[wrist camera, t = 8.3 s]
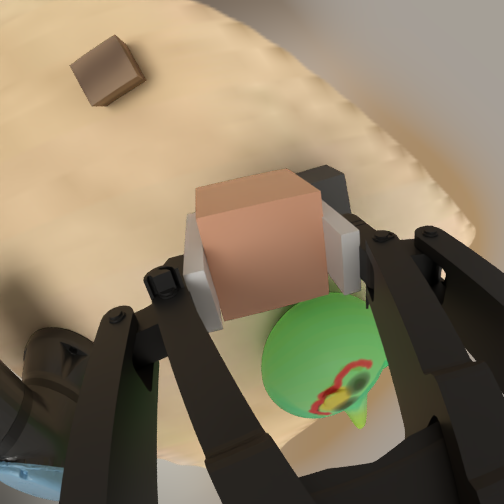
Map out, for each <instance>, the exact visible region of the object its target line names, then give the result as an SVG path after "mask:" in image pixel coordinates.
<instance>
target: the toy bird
mask: <svg viewBox="0 0 504 504" xmlns="http://www.w3.org/2000/svg"><path fill="white" fill-rule="evenodd" d="M387 366H389V365H388V362H387V358H386V355H385V352H384V348H383V345H382V342H381V338H380V335H379V332H378V329H377V326H376V323H375V320H374V316H373V313H372V310H371V307H370V305H369V308H368V309H366V302H365V301H363V300H361V299H359V298H357V297H355V296H352V295H349V294H348V295H345V296H344V294H343V293H329V294H328V295H324V296H321V297H317V298H314V299H310V300H306V301H303V302H299V303H298V304H296V305H295V306H293V307H292V308H291V309H290V310H288V311H287V312H286V313H285V314H284V315H283V316H282V317H281V318H280V320H279V321H278V322H277V323H276V325H275V326H274V328H273V329H272V331H271V333H270V335H269V337H268V339H267V341H266V344H265V347H264V351H263V355H262V364H261V371H262V379H263V383H264V386H265V389H266V391H267V393H268V395H269V396H270V398H271V399H272V400H273V401H274V402H275V403H276V404H277V405H278V406H279V407H280V408H281V409H283V410H285V411H286V412H288V413H290V414H293V415H295V416H299V417H303V418H324V417H328V416H331V415H335V414H337V413H340V412H342V411H345V412H346V413H347V414H348V416H349V417H350V419H351V420H352V422H353V423H354V425H355V426H356V427H357V428H359V429H361V428H363V427H364V426H365V423H366V415H367V393H368V392H369V391H370V389H371V388H372V387H373V386H374V384H375V383H376V381H377V380H378V378H379V376H380V374H381V372H382V370H383V369H384V368H385V367H387Z"/></svg>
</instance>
